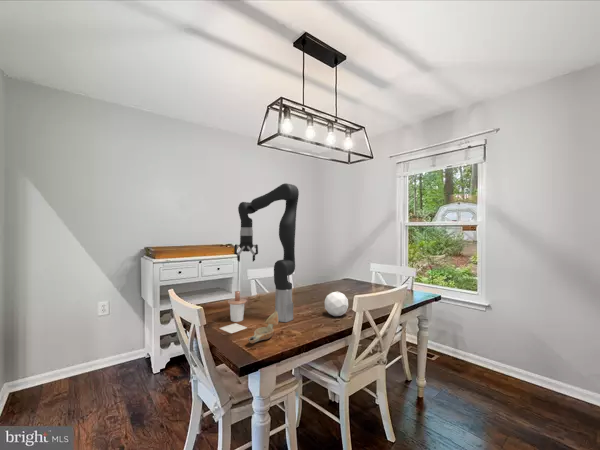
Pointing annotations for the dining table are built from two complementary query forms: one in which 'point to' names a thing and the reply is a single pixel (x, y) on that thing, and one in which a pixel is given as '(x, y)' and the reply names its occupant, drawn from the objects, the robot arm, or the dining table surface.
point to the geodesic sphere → (336, 303)
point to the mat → (233, 328)
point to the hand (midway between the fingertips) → (246, 261)
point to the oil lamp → (265, 329)
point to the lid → (237, 299)
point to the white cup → (236, 312)
